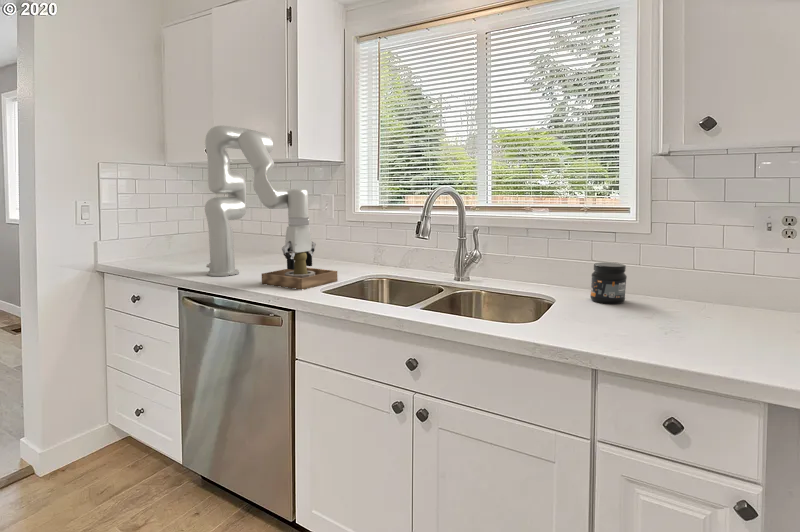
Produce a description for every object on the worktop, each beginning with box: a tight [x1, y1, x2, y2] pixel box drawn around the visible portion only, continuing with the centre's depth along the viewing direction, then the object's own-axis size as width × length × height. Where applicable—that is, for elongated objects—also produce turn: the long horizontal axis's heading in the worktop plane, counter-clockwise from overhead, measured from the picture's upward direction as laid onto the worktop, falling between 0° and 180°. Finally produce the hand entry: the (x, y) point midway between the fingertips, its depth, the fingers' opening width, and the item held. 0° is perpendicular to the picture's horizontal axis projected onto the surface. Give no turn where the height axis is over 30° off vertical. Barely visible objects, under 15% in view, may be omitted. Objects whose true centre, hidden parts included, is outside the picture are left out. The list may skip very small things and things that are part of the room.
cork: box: [293, 252, 308, 275], centre depth 197 cm, size 6×6×11 cm
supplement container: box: [590, 262, 628, 305], centre depth 167 cm, size 10×10×12 cm
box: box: [261, 267, 338, 290], centre depth 198 cm, size 20×20×4 cm
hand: (299, 267), depth 197 cm, fingers open, 9 cm apart
